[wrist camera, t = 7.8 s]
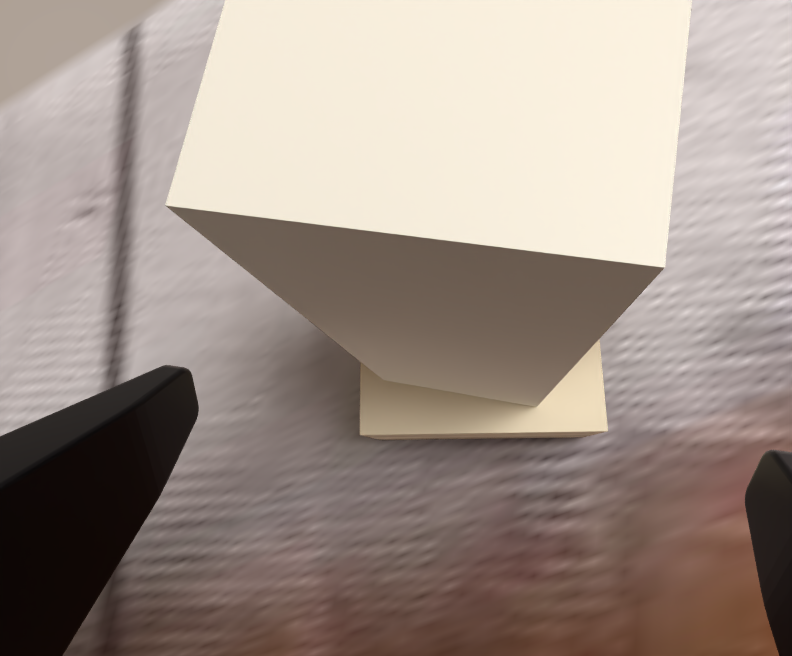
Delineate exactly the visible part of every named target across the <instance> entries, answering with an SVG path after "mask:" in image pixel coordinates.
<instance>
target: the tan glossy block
mask: <svg viewBox="0 0 792 656" xmlns="http://www.w3.org/2000/svg"><path fill="white" fill-rule="evenodd" d="M607 431H608V427H607V416H606V406H605V395H604V384H603V373H602V363H601V352H600V341H599V340H598V341H597V342H596V343H595V344H594V345H593V346H592V347H591V348H590V350H589V351H588V352H587V353H586V354H585V355H584V356H583V357H582V358H581V359H580V360H579V362H578V363H577V364H576V365H575V366H574V367H573V368H572V369H571V370H570V371H569V372H568V374H567V375H566V376H565V377H564V378H563V379H562V380H561V381H560V382H559V383H558V384H557V386H556V387H555V388H554V389H553V390H552V391H551V392H550V393H549V394H548V395H547V396H546V398H545V399H544V400H543V401H542V402H541V403H540V404H539V405H538V406H537V407H534V406H528V405H523V404H517V403H511V402H505V401H500V400H494V399H488V398H483V397H477V396H471V395H466V394H460V393H454V392H448V391H443V390H437V389H431V388H426V387H420V386H414V385H408V384H403V383H397V382H391V381H386V380H383V379H381V378H380V377H379V376H378V375H376V374H375V373H374V372H373V371H371V370H370V369H369V368H368V367H366V366H365V365H364V364H363V363H361V362H360V435H362V436H366V437H370V438H375V439H379V440H413V439H485V438H557V437H586V436H590V435H594V434H598V433H603V432H607Z"/></svg>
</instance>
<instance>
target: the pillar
mask: <svg viewBox="0 0 792 656" xmlns="http://www.w3.org/2000/svg"><path fill="white" fill-rule="evenodd" d="M691 5H692V0H225V3H224V7H223V10H222V14H221V17H220V21H219V24H218V27H217V31H216V34H215V38H214V41H213V44H212V48H211V51H210V55H209V58H208V62H207V65H206V68H205V72H204V75H203V79H202V82H201V85H200V89H199V92H198V96H197V99H196V103H195V106H194V109H193V113H192V116H191V120H190V123H189V126H188V130H187V133H186V137H185V140H184V144H183V147H182V150H181V154H180V157H179V161H178V164H177V167H176V171H175V174H174V178H173V181H172V185H171V188H170V191H169V195H168V198H167V202H166V205H165V206H167V207H168V208H169V209H170V210H172V211H173V212H174V213H175V214H177V215H178V216H179V217H180V218H182V219H183V220H184V221H185V222H187V223H188V224H189V225H190V226H192V227H193V228H194V229H195V230H197V231H198V232H199V233H200V234H202V235H203V236H204V237H205V238H207V239H208V240H209V241H210V242H212V243H213V244H214V245H215V246H217V247H218V248H219V249H220V250H222V251H223V252H224V253H225V254H227V255H228V256H229V257H230V258H232V259H233V260H234V261H235V262H237V263H238V264H239V265H240V266H242V267H243V268H244V269H245V270H247V271H248V272H249V273H250V274H252V275H253V276H254V277H255V278H257V279H258V280H259V281H260V282H262V283H263V284H264V285H265V286H267V287H268V288H269V289H270V290H272V291H273V292H274V293H275V294H277V295H278V296H279V297H280V298H282V299H283V300H284V301H285V302H287V303H288V304H289V305H290V306H292V307H293V308H294V309H295V310H297V311H298V312H299V313H300V314H302V315H303V316H304V317H305V318H307V319H308V320H309V321H310V322H312V323H313V324H314V325H315V326H317V327H318V328H319V329H320V330H322V331H323V332H324V333H325V334H326V335H328V336H329V337H330V338H331V339H333V340H334V341H335V342H336V343H338V344H339V345H340V346H341V347H343V348H344V349H345V350H346V351H348V352H349V353H350V354H351V355H353V356H354V357H355V358H356V359H358V360H359V361H360V362H361V363H363V364H364V365H365V366H366V367H368V368H369V369H370V370H371V371H373V372H374V373H375V374H376V375H378V376H379V377H380V378H381V379H383V380H386V381H391V382H397V383H403V384H408V385H414V386H420V387H426V388H431V389H437V390H443V391H448V392H454V393H460V394H466V395H471V396H477V397H483V398H488V399H494V400H500V401H505V402H511V403H517V404H523V405H528V406H534V407H537V406H538V405H539V404H540V403H541V402H542V401H543V400H544V399H545V398H546V396H547V395H548V394H549V393H550V392H551V391H552V390H553V389H554V388H555V387H556V386H557V384H558V383H559V382H560V381H561V380H562V379H563V378H564V377H565V376H566V375H567V374H568V372H569V371H570V370H571V369H572V368H573V367H574V366H575V365H576V364H577V363H578V362H579V360H580V359H581V358H582V357H583V356H584V355H585V354H586V353H587V352H588V351H589V350H590V348H591V347H592V346H593V345H594V344H595V343H596V342H597V341H598V340H599V339H600V338H601V336H602V335H603V334H604V333H605V332H606V331H607V330H608V329H609V328H610V327H611V326H612V324H613V323H614V322H615V321H616V320H617V319H618V318H619V317H620V316H621V315H622V314H623V312H624V311H625V310H626V309H627V308H628V307H629V306H630V305H631V304H632V303H633V302H634V300H635V299H636V298H637V297H638V296H639V295H640V294H641V293H642V292H643V291H644V290H645V288H646V287H647V286H648V285H649V284H650V283H651V282H652V281H653V280H654V279H655V278H656V276H657V275H658V274H659V273H660V272H661V271H662V270H663V269H664V268H665V259H666V250H667V240H668V230H669V220H670V210H671V201H672V191H673V181H674V171H675V161H676V152H677V142H678V132H679V122H680V112H681V103H682V93H683V83H684V73H685V63H686V54H687V44H688V34H689V24H690V14H691Z"/></svg>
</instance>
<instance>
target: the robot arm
mask: <svg viewBox="0 0 792 656" xmlns="http://www.w3.org/2000/svg"><path fill="white" fill-rule="evenodd" d="M198 411H199V407H198V401H197V396H196V392H195V387H194V382H193V378H192V374H191V372H190V371H189V370H188V369H187V368H185V367H178V366H171V365H165V366H161V367H159V368H157V369H154V370H152V371H150V372H147V373H145V374H143V375H141V376H138V377H136V378H134V379H131V380H129V381H127V382H124V383H122V384H120V385H118V386H115V387H113V388H111V389H108V390H106V391H104V392H101V393H99V394H97V395H94V396H92V397H90V398H88V399H85V400H83V401H81V402H78V403H76V404H74V405H71V406H69V407H67V408H65V409H62V410H60V411H58V412H55V413H53V414H51V415H48V416H46V417H44V418H42V419H39V420H37V421H35V422H32V423H30V424H28V425H25V426H23V427H21V428H18V429H16V430H14V431H12V432H9V433H7V434H5V435H2V436H0V656H62V655H63V654H64V652H65V650H66V649H67V647H68V646H69V644H70V642H71V641H72V639H73V637H74V636H75V634H76V633H77V631H78V629H79V628H80V626H81V624H82V623H83V621H84V619H85V618H86V616H87V615H88V613H89V611H90V610H91V608H92V606H93V605H94V603H95V601H96V600H97V598H98V597H99V595H100V593H101V592H102V590H103V588H104V587H105V585H106V584H107V582H108V580H109V579H110V577H111V575H112V574H113V572H114V570H115V569H116V567H117V566H118V564H119V562H120V561H121V559H122V557H123V556H124V554H125V552H126V551H127V549H128V548H129V546H130V544H131V543H132V541H133V539H134V538H135V536H136V535H137V533H138V531H139V530H140V528H141V526H142V525H143V523H144V521H145V520H146V518H147V517H148V515H149V513H150V512H151V510H152V508H153V507H154V505H155V503H156V501H157V500H158V498H159V496H160V495H161V493H162V491H163V489H164V487H165V485H166V483H167V481H168V479H169V477H170V474H171V472H172V470H173V468H174V466H175V464H176V462H177V460H178V458H179V456H180V453H181V451H182V449H183V447H184V445H185V443H186V441H187V439H188V437H189V435H190V432H191V430H192V428H193V426H194V424H195V422H196V419H197V416H198ZM745 507H746V513H747V518H748V523H749V529H750V534H751V539H752V545H753V550H754V556H755V561H756V566H757V572H758V577H759V582H760V588H761V593H762V597H763V602H764V606H765V610H766V613H767V617H768V620H769V624H770V627H771V630H772V634H773V637H774V640H775V643H776V646H777V650H778V653H779V656H792V452H785V451H778V450H769V451H767V452H765V453H764V454H763V456H762V458H761V460H760V462H759V464H758V466H757V468H756V470H755V472H754V474H753V477H752V479H751V481H750V483H749V485H748V487H747V490H746V494H745Z"/></svg>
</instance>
